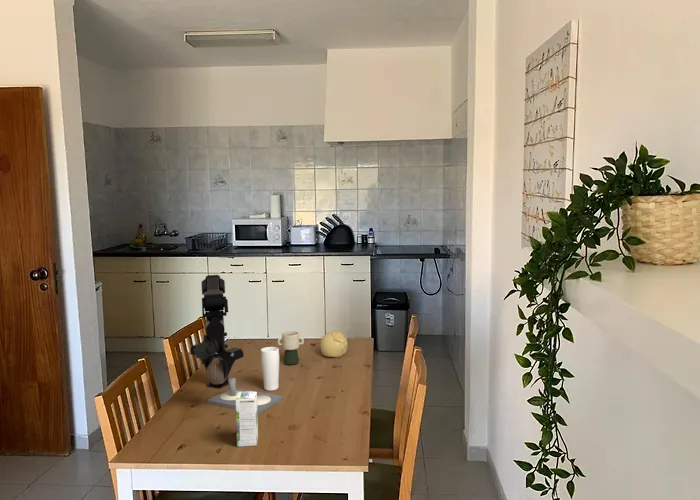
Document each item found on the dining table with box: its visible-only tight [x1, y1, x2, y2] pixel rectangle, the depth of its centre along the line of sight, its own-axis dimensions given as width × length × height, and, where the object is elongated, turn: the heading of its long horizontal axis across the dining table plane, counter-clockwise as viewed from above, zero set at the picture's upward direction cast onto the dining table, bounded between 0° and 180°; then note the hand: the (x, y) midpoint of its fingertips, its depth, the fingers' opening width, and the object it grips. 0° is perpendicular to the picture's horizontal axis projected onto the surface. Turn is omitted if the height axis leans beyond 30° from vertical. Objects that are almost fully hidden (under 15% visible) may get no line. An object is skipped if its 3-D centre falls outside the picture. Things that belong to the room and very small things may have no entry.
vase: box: [206, 356, 227, 384], centre depth 191 cm, size 7×7×9 cm
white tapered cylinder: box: [260, 346, 280, 392], centre depth 211 cm, size 7×7×15 cm
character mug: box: [277, 330, 305, 365], centre depth 240 cm, size 11×7×13 cm, turn 95°
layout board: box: [206, 377, 284, 415], centre depth 200 cm, size 22×14×7 cm, turn 62°
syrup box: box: [235, 391, 259, 448], centre depth 167 cm, size 6×6×14 cm
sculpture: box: [319, 330, 349, 358], centre depth 250 cm, size 12×12×11 cm
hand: (217, 376), depth 191 cm, fingers closed on vase, 7 cm apart
